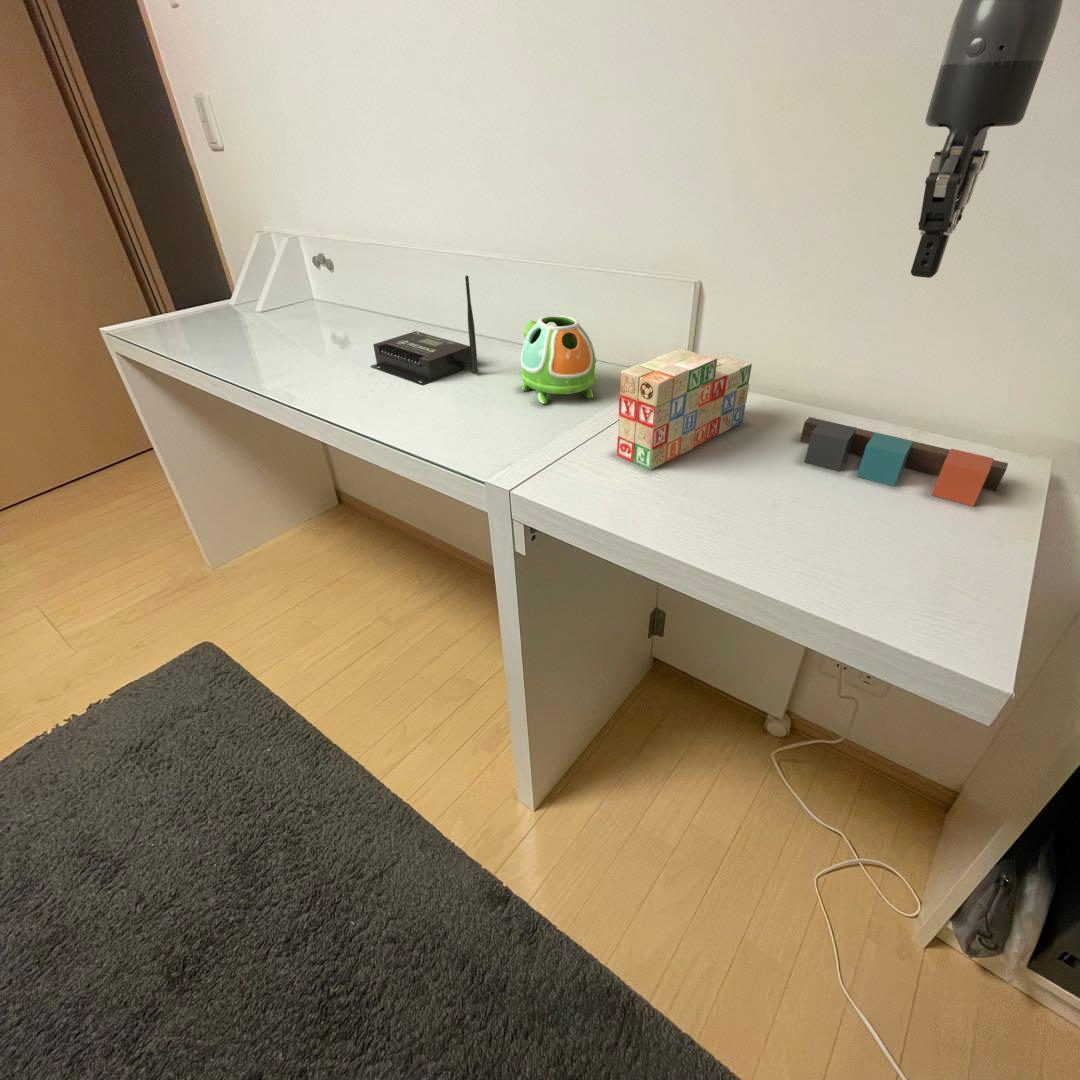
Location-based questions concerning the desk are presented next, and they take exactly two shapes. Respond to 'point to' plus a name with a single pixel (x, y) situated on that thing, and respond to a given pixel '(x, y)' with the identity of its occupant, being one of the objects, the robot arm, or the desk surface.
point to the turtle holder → (557, 358)
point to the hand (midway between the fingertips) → (923, 275)
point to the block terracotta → (962, 477)
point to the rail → (912, 454)
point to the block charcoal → (830, 445)
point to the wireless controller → (427, 354)
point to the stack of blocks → (678, 404)
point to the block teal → (884, 458)
